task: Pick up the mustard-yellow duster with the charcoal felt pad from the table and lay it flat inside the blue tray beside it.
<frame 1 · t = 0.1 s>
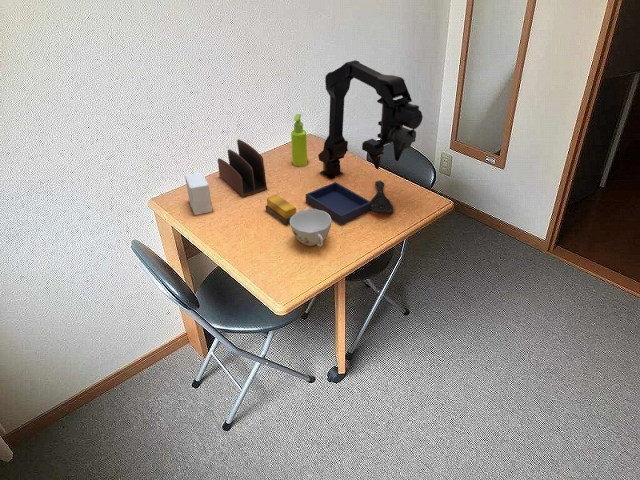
hand: (387, 164, 160), 15 cm above the table, tool pointing down, fingers open, 9 cm apart
letter holder: (242, 183, 182), on the table
hairbrush: (380, 200, 170), on the table, touching blue tray
teacup: (312, 243, 150), on the table
soap dispenser: (299, 164, 195), on the table
blue tray: (338, 206, 167), on the table
cosmetics box: (201, 206, 168), on the table
duster: (281, 215, 163), on the table
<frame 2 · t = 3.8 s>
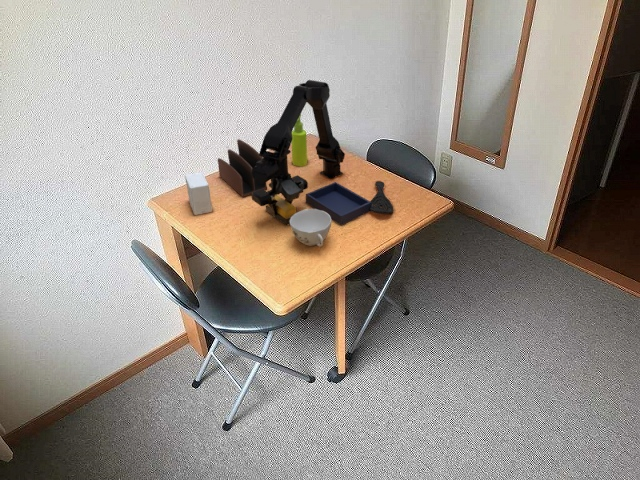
hand: (281, 212, 162), 1 cm above the table, tool pointing down, fingers closed on duster, 5 cm apart
duster: (282, 215, 163), on the table, touching gripper
everything else where it was.
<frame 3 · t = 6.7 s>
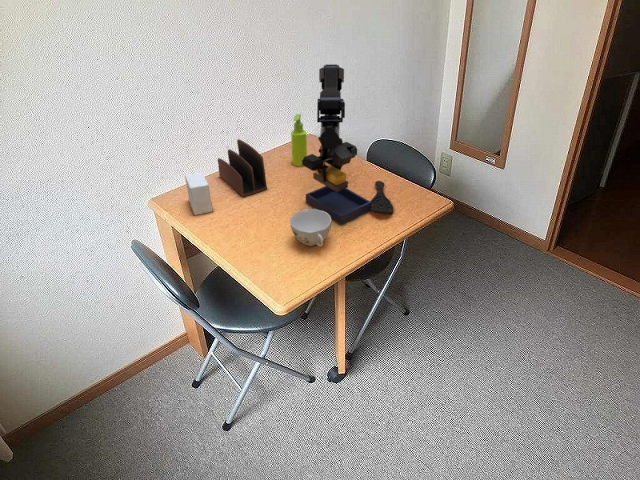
hand: (330, 179, 160), 11 cm above the table, tool pointing down, fingers closed on duster, 5 cm apart
duster: (330, 182, 161), point 10 cm above the table, touching gripper
everything else where it was.
when the fingers open (2 cm above the table, at t = 9.6 s): duster stays where it is, resting on blue tray.
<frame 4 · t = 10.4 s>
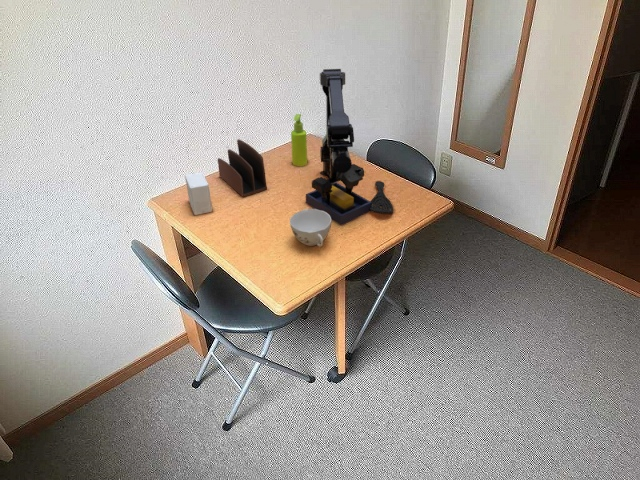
hand: (338, 200, 166), 3 cm above the table, tool pointing down, fingers open, 9 cm apart
duster: (338, 205, 167), resting on blue tray
everything else where it was.
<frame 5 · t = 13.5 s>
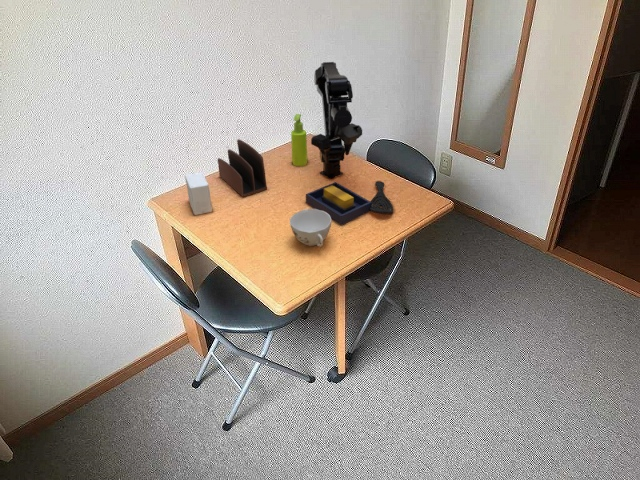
hand: (337, 158, 171), 12 cm above the table, tool pointing down, fingers open, 9 cm apart
nothing on the table moved.
at the end: duster inside the target area in the blue tray (0.0 cm from its centre), point 0.5 cm above the blue tray's base; duster tilted 0°; the gripper is holding nothing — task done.
